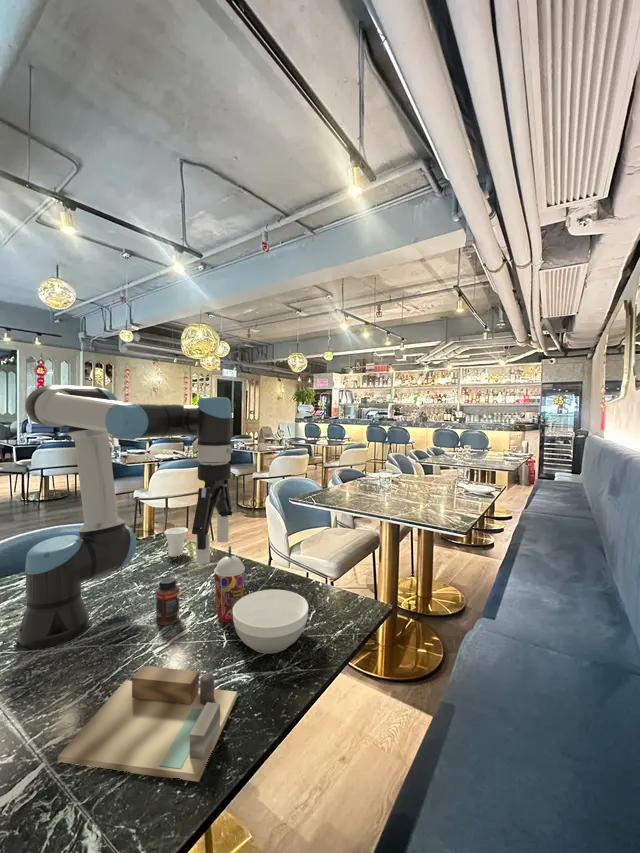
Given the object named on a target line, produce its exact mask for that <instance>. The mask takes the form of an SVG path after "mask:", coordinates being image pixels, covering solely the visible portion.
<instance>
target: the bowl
mask: <svg viewBox="0 0 640 853" xmlns="http://www.w3.org/2000/svg"><path fill="white" fill-rule="evenodd" d="M308 613H309V603H308V601H307V600H306V598H304V597H303V596H301V595H300V594H298V593H297V592H294V591H290V590H284V589H264V590H263V589H262V590H258V591H255V592H254V591H253V592H251V593H249V594H246V595H243V597H242V598H241V599H239V600H238V601H237V602H236V603H235V605H234V607H233V625H234V629H235V632H236V635H237V636H238V638H240V640H241V641H242V642H243V644H245V645H246V646H247V647H249V648H250V649H252V650H254V651H255V652H257V653H261V654H269V655H270V654H271V655H272V654H277V653H280V652H282V651H285V650H286V649H287V648H289V647H290V646H291V645H293V644H294V643H296V641H297V640H298V639H299V637H300V636H301V635H302V634H303V632H304V630H305V628H306V624H307V621H308V618H309V616H308V615H309V614H308Z"/></svg>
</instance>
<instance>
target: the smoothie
mask: <svg viewBox="0 0 640 853" xmlns="http://www.w3.org/2000/svg"><path fill="white" fill-rule="evenodd" d="M213 569H214V570H213V572H214V587H215V588H214V589H215V590H214V591H215V600H216V601H215V602H216V603H215V604H216V607H215V608H216V615H217V617H218V619H219V621H221V622H222V623H232V622H233V607H234V605H235V603H236V602H237V601H238V600H239V599H241V598H242V597H244V585H245V584H244V583H245V572H246V571H245V569H246V567H245V565H244V563H243V562H242V561H241V559H240V558H238V557H237V556H235V555H232V546H231V545H228V555H227V556H224V557H222V558H221V559H220V560H219V561H218V562H217V565H216V567H215V568H213ZM233 623H234V622H233Z"/></svg>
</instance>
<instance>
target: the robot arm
mask: <svg viewBox="0 0 640 853" xmlns="http://www.w3.org/2000/svg"><path fill="white" fill-rule="evenodd" d="M24 407H25V408H24V409H25V413H26V414H27V416H28V417H29V418H30V420H31V421H32V422H34V423H36V424H37V425H41V426H43V427H47V428H48V427H49V428H50V427H51V428H66V430H67V435H68V436H69V437H71V438H72V439H73V440H74V444H75V446H74V447H75V454H76V463H77V471H78V473H77V474H78V480H79V490H80V497H81V506H82V514H83V524H82V525H81V527H80V528H79V530H78V535H79V536H78V535H76V534H64V535H61V536H59V535H58V536H54V537H50V538H48V539H45V540H43V541H40V542H39V543H37V544H35V545H33V546H32V547H31V548H30V550H28V551H27V553H26V558H25V566H24V571H25V592H26V593H25V594H26V595H25V598H26V609H25V611H24V614H23V616H22V619H21V623H20V626H19V627H18V628H19V629H18V631H17V643H18V644H19V645H20V646H21V647H23V648H26V649H43V648H49V647H54V646H57V645H60V644H63V643H66V642H68V641H71V640H73V639H75V638H76V637H78V636H80V635H81V634H82V633H84V632H85V631H86V630H87V629H88V627H89V625H90V614H89V611H88V610H87V609H86V606H85V602H84V600H83V597H82V584H83V583H85V582H88V581H90V580H93V579H95V578H98V577H100V576H103V575H106V574H108V573H110V572H115V571H117V570H120V569H121V568H123V567H125V566H127V565H128V564H129V563H130V562H131V561H132V560H133V559H134V557H135V555H136V552H137V538H136V534H135V533H134V531H133V529H132V528H131V527H129V526H127V525H126V522H125V520H124V519H122V518H121V517H119V514H118V505H117V495H116V489H115V478H114V471H113V464H112V462H113V461H112V454H111V447H110V446H111V445H110V435H111V437H113V438H114V439H118V440H136V439H146V438H163V437H181V436H182V437H183V436H185V437H188V436H189V437H197V462H199V463H198V464H197V479H198V480H199V481H203V482H204V487H199V488H198V491H197V492H198V493H197V501H196V506H195V507H196V508H195V514H194V518H193V523H192V529H191V534H192V535H196V553H195V554H196V556H195V557H196V562H195V563H196V564H210V562H211V560H210V558H211V557H210V555H211V551H210V550H211V548H210V547H211V546H210V544H211V540H210V539H211V537H210V536H211V533H210V532H209V530H210V526H211V521H212V518H213V514H214V509H215V507H216V509H217V510H216V511H217V512H218V513H217V514H218V515H217V518H216V521H217V524H216V525H217V526H216V532H217V533H216V542H217V543H229V531H230V530H229V525H230V524H229V523H230V522H229V521H230V520H229V518H230V517H229V516H232V515H233V509H232V502H231V496H230V489H229V479H231V476H232V475H231V474H232V472H231V471H232V466H231V464H230V461H231V454H233V453H234V450H233V448H231V447H232V441H231V440H232V439H231V438H232V437H231V436H232V417H233V414H232V402H231V400H230V398H229V397H225V396H224V397H222V396H221V397H220V396H200V397H199V398H198V402H197V405H193V404H191V405H190V404H173V403H172V404H164V403H163V404H159V403H158V404H157V403H155V404H153V403H152V404H151V403H136V402H127V401H121V400H120V401H119V400H118V398H117V396H116V395H115V394H114V393H113V392H112V391H111V390H109V389H107V388H103V387H97V386H86V385H85V386H84V385H83V386H82V385H81V386H80V385H63V384H48V385H43V386H40V387H38V388H35V389H34V390H33V391H31V392H30V394H29V395H28V396H27V397H26V400H25V405H24Z"/></svg>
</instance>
